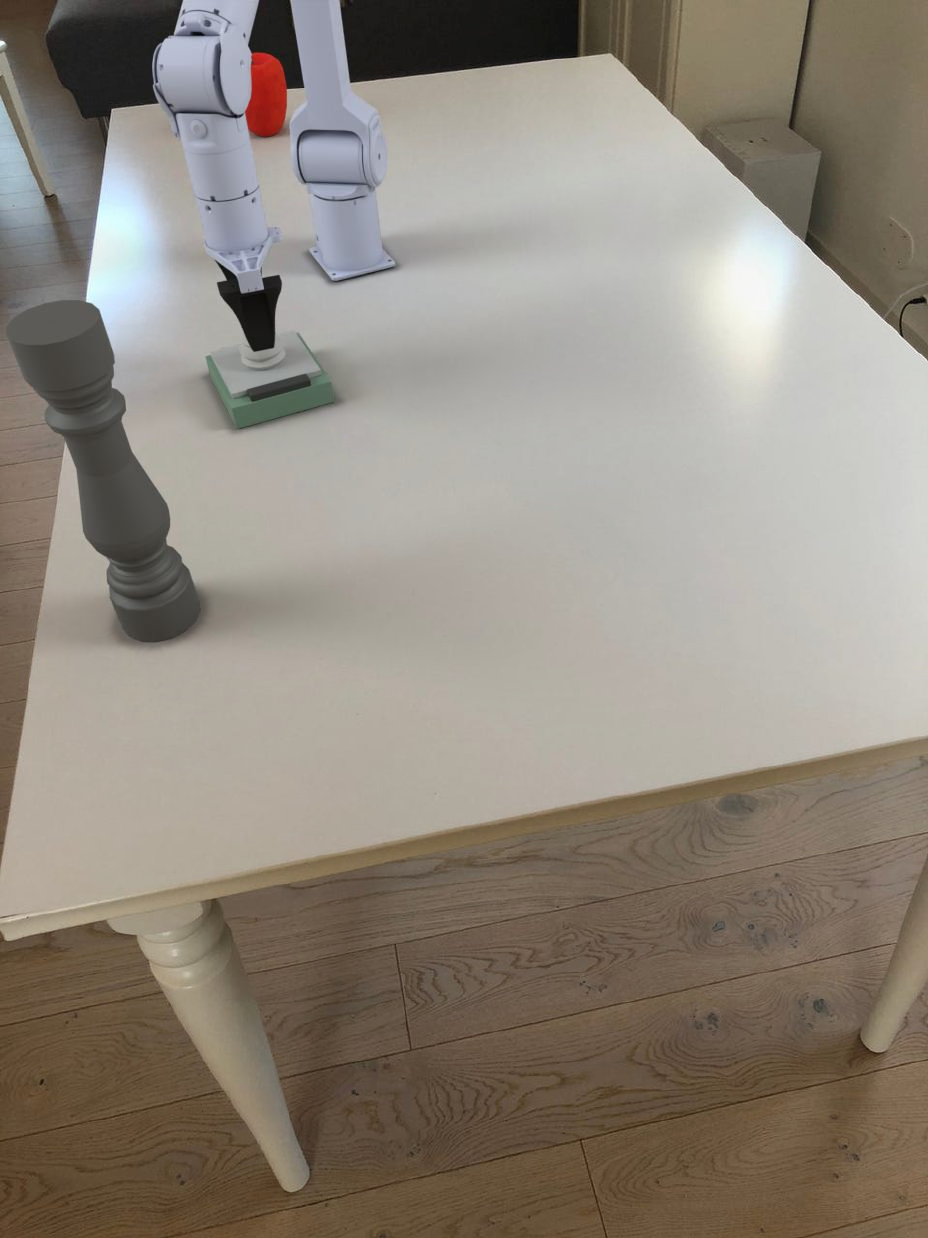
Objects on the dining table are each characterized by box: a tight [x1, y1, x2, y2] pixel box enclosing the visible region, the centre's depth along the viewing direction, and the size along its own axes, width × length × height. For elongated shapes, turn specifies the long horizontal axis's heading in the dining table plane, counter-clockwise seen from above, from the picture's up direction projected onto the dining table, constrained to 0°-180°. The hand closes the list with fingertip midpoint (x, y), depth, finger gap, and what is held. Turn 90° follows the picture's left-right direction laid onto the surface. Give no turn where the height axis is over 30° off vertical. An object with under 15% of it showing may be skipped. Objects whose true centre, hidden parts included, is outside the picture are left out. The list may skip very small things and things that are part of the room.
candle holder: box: [5, 299, 201, 643], centre depth 71 cm, size 6×6×25 cm
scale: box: [204, 329, 335, 430], centre depth 101 cm, size 11×10×3 cm
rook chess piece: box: [240, 331, 285, 370], centre depth 98 cm, size 4×4×8 cm
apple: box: [245, 52, 288, 138], centre depth 153 cm, size 9×9×11 cm
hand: (257, 329), depth 98 cm, fingers open, 7 cm apart
